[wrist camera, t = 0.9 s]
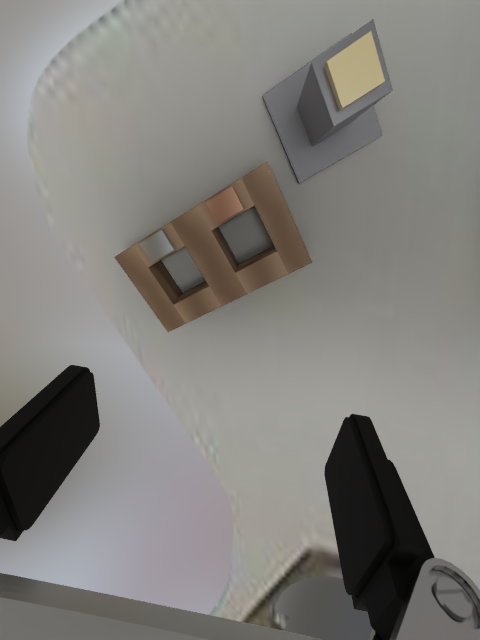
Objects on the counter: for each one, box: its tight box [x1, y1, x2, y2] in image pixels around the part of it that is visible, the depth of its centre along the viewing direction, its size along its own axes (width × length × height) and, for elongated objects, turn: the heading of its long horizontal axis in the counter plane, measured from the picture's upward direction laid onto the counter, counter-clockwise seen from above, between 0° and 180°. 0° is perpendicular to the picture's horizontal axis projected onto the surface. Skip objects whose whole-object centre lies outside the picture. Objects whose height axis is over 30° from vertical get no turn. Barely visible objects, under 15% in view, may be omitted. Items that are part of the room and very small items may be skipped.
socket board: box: [115, 162, 312, 332], centre depth 30 cm, size 18×10×4 cm, turn 119°
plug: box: [297, 20, 392, 147], centre depth 20 cm, size 4×4×11 cm
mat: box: [263, 33, 382, 183], centre depth 25 cm, size 8×8×1 cm
